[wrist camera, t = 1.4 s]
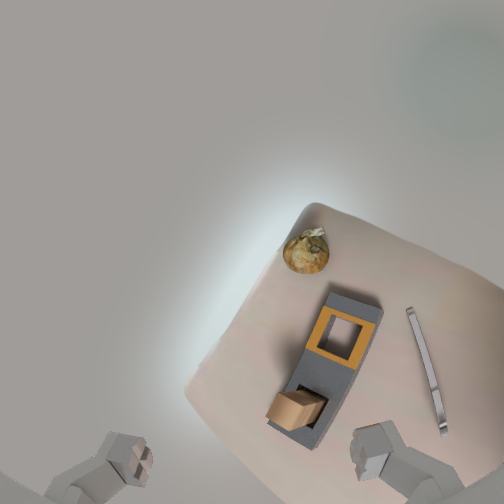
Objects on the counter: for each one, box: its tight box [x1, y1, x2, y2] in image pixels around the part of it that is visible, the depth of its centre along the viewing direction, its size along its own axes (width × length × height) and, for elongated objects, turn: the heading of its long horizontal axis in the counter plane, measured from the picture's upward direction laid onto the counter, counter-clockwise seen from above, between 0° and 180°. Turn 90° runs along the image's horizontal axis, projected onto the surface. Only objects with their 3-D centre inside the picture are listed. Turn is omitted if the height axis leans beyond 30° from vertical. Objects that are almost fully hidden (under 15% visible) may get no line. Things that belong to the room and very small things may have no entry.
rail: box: [267, 292, 384, 450], centre depth 40 cm, size 9×24×3 cm, turn 152°
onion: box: [283, 227, 329, 274], centre depth 47 cm, size 8×8×8 cm
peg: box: [265, 390, 328, 431], centre depth 36 cm, size 4×4×10 cm
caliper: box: [407, 308, 448, 437], centre depth 30 cm, size 20×1×6 cm, turn 13°
